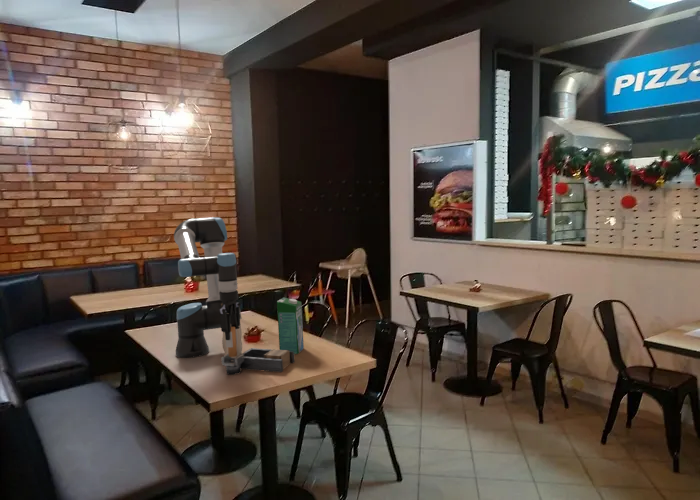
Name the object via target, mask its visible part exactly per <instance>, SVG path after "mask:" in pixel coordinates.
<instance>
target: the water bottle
mask: <svg viewBox="0 0 700 500" xmlns="http://www.w3.org/2000/svg"><path fill="white" fill-rule="evenodd" d="M222 304H223V303H222ZM222 304H221V305H222ZM227 314H229V313H227ZM242 319H243V318H242V312H241V311H240V320H242ZM238 327H240V328H239V329H237V337H238V344H237V345H236V347H237V356H239V355H241V354H242V353H243V341H242V339H243V338H242V334H243V333H242V325H241V323H240V326H238ZM221 345H222V349H223V352H224V356H225V355H227V354H229V353H228V347H226V337H225V332H222V338H221ZM237 356H235V357H234V358H236V357H237ZM231 358H233V357H231Z"/></svg>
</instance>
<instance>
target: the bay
mask: <svg viewBox="0 0 700 500" xmlns="http://www.w3.org/2000/svg"><path fill="white" fill-rule="evenodd" d="M271 350H273V348H272V349H271V348H270V349H268V348H256V347H251V348H249V349H247V350H246V351H244V352H242V354H243V355H244V362H243V363H241V370H250V371H251V370H252V371H261V370H264V371H263V372H273V371H274V372H275V373H282V372H283V371H284V369H283V360H282V359H270V358H264V355H265V354H266V353H268V352H269V351H271ZM289 353H290V364H294V363H295V362H296V361H295V354H294V351H289ZM239 356H240V355H239ZM237 357H238V356H237Z"/></svg>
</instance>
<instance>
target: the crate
mask: <svg viewBox="0 0 700 500" xmlns="http://www.w3.org/2000/svg"><path fill="white" fill-rule="evenodd" d="M264 358H270V359H282V360H283V370H284V369H286V367H288V366H290V364H291V363H290V353H289V350H280V349H276V348H272V350H271V351H269V352H268V353H266V354H265V355H264Z"/></svg>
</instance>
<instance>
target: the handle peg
mask: <svg viewBox="0 0 700 500" xmlns="http://www.w3.org/2000/svg"><path fill="white" fill-rule="evenodd" d="M230 332H232V341H233V347H228V353H229V357H235V356H237V347H236V332H235V327H231V331H230Z"/></svg>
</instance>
